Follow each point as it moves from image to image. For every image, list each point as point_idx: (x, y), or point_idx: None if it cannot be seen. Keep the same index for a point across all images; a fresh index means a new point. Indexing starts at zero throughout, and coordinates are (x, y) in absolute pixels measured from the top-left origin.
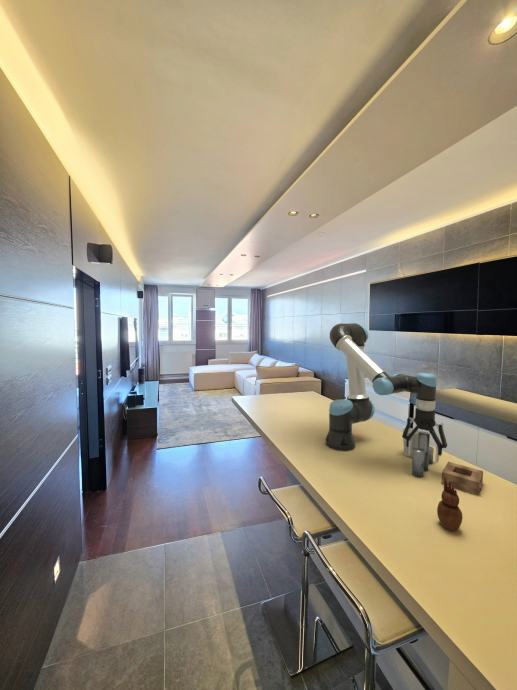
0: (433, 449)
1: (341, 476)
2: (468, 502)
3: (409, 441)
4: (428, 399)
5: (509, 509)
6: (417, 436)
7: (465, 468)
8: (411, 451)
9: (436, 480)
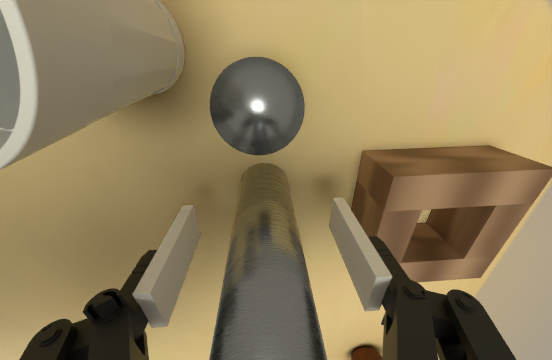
0: (303, 106)
1: None
2: None
3: (159, 323)
4: None
5: (501, 251)
6: (77, 99)
7: (468, 199)
8: (190, 223)
9: (328, 237)
